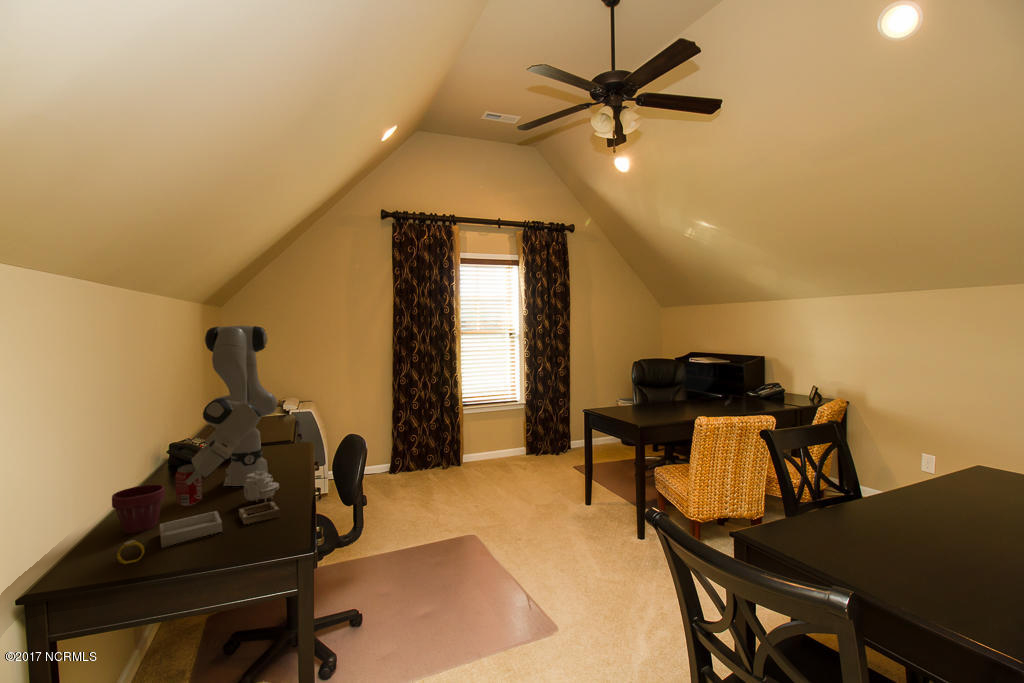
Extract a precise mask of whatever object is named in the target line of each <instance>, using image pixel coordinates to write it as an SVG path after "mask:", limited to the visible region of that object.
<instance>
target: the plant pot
mask: <svg viewBox="0 0 1024 683" xmlns="http://www.w3.org/2000/svg"><path fill="white" fill-rule="evenodd" d="M165 490H166V489H165V486H164V485H162V484H157V483H156V484H154V483H153V484H145V485H139V486H133V487H129V488H125V489H121V490H118V491H117V492H115V493H112V495H111V507H112V508H113V509H115V511H116V514H117V517H118V520H119V523H120V526H121V528H122V533H124V534H136V533H137V534H138V533H142V532H145V531H148V530H151V529H153V528H154V527H156V526H157V525H158V522H159V517H160V512H161V507H162V500H163V499H165V497H166V492H165Z"/></svg>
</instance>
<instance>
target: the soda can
mask: <svg viewBox="0 0 1024 683" xmlns="http://www.w3.org/2000/svg"><path fill="white" fill-rule="evenodd" d="M194 471H195V468H194V466H193V463H191V464H184V465H181V466H179V467H177V471H176V473H175V477H174V479H175V480H174V481H175V496H176V497H175V498H176V502H177V504H178V505H180V506H192V505H195V504H197V503H198V502H199V501H201V500H202V498H203V480H202V477H203V476H202V475H201V476H200V477H199V478H197V479H196V480H195V481H193V482H192V484H190V485H188V484H186V483H185V480H186V479H187V478H188V477H190V476H191V475H192V474H193V472H194Z"/></svg>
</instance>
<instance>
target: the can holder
mask: <svg viewBox="0 0 1024 683" xmlns="http://www.w3.org/2000/svg"><path fill="white" fill-rule="evenodd" d="M265 510H266V511H265ZM280 510H281V509H280V508H279V506H277V505H276V503H275V502H274V500H271V501H268V502H267V501H266V502H263V503H259V504H255V505H250V506H246V507H241V508H238V517H239V518H240V520H241V522H242V521H243V522H242V523H244V524H243V525H244V526H246V525H245V524H248V525H251V524H250V523H252V524H254V522H256V523H259V522H263V521H267V520H272V519H275V518H279V517H281V512H280ZM261 511H262V512H261ZM257 512H258V513H257ZM252 513H254V514H252ZM248 514H250V515H248ZM266 519H267V520H266ZM262 520H263V521H262ZM258 521H259V522H258Z"/></svg>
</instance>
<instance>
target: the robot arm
mask: <svg viewBox="0 0 1024 683" xmlns="http://www.w3.org/2000/svg"><path fill="white" fill-rule="evenodd" d="M267 343H268V334H267V332H266V329H264V328H263V327H261V326H257V325H255V326H251V325H230V326H229V325H227V326H213V327H210V328H208V329H207V331H206V334H205V337H204V344H205V346H206V349H207V350H209V352H212V356H211V362H212V367H213V370H214V371H215V373H216V374H217V375H218V377H220V378H221V380H222V381H223V382H224V384H225V385H226V387H227V389H228V391H229V392H228V393H229V394H228V395H223V396H220V397H216V398H213V400H211V401H210V402H208V404H207V405H206V406H205V407H204V409H203V411H202V419H204V421H205V423H207V424H208V425H210V426H212V427H213V428H215V429H214V431H213V432H212V433H211V434H210V435H209V436H208V437H207V438H206V439H205V440H204V444H205V445H204V446H203V447H202V448H201V449H199V451H198V452H196V454H195V455H194V456H193V457H192V458H191V464H193V466H194V468H195V471H194V472H193V474H192V475H191V476H190V477H188V478H187V479H186V480H185V483H186V484H188V485H190V484H192V482H193V481H195V480H196V479H197V478H199V477H200V476H202V477H204V478H206V477H208V476H209V475H210V474H211V473H213V471H215V469H217V468H218V467H219V466H220V465H221V464H222V463H223V462H224V460H228V459H229V458H230V460H231V462H230V464H229V466H227V467H228V468H225V475H226V477H225V479H224V482H223V486H244V483H246V480H247V475H249V474H251V473H255V471H259V473H260V472H261V471H265V472H266V473H268V476H267V477H268V478H270V477H272V478H273V475H272V474H270V473H269V472H268V464H267V463H268V462H267V460H266V459H265V458H263V456H264V455H263V454H264V453H263V448H262V445H261V442H262V440H261V433H260V432H261V431H260V430H259V429H258V428H256V427H257V425H258V424H259V422H260V420H261V418H263V417H268V416H269V415H273V414H274V413H275V411H276V410H277V408H278V399H277V397H276V396H275V395H274V394H273V393H272V392H270V391H268V390H266V389H265V388H264V387H263V385H262V384H261V382H260V379H259V375H258V365H257V364H258V363H257V353H258V352H261V351H263V350H264V349H265V348H266V346H267ZM267 477H266V478H267ZM254 481H255V479H254Z"/></svg>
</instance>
